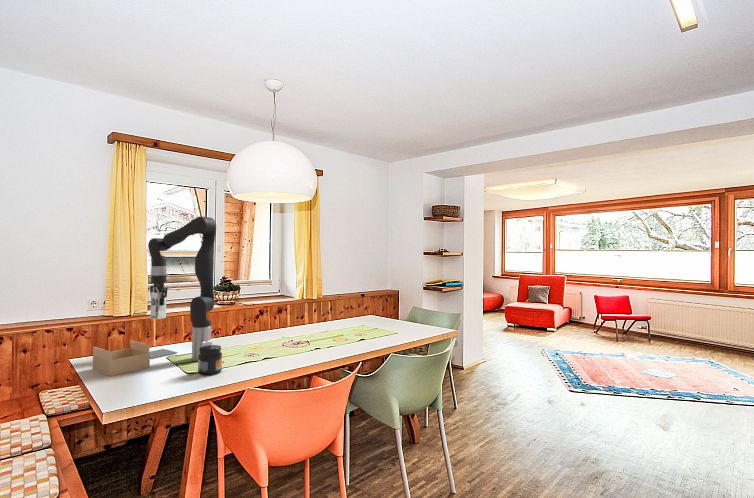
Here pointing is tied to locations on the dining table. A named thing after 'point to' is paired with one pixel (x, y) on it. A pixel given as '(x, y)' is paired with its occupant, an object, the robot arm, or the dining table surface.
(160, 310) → the syrup box
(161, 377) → the dining table surface
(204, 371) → the supplement container
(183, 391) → the dining table surface
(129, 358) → the carton
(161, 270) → the robot arm
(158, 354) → the mat
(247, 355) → the dining table surface
